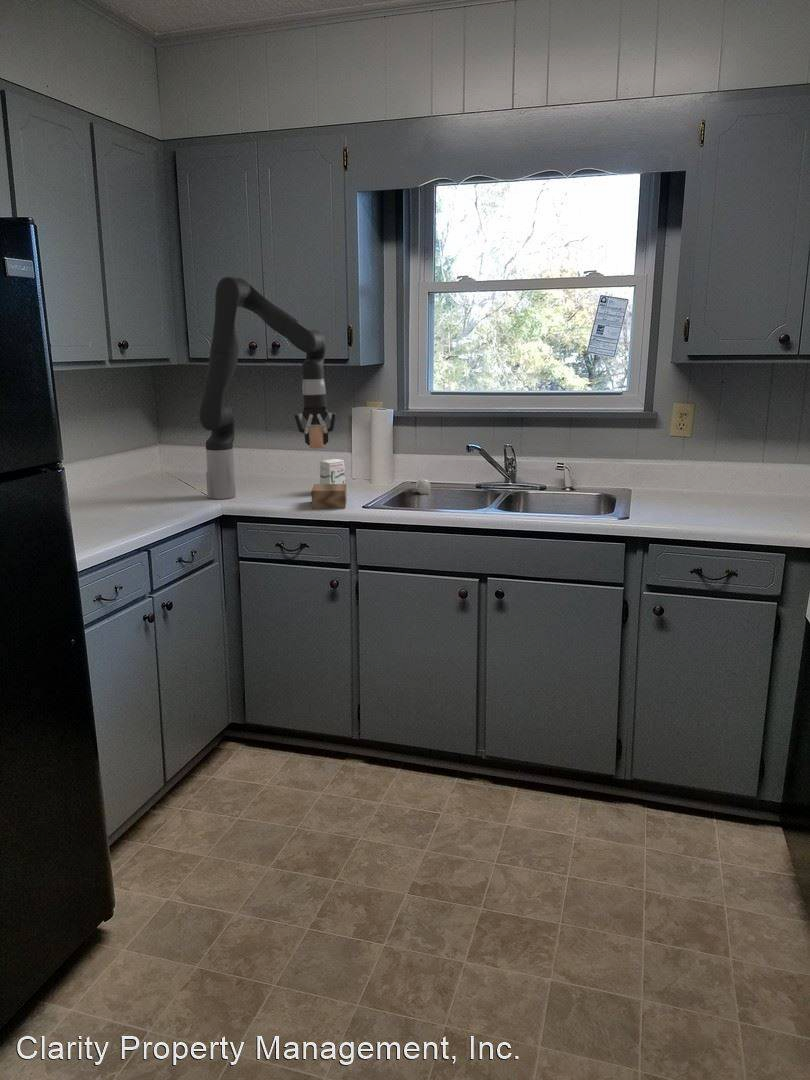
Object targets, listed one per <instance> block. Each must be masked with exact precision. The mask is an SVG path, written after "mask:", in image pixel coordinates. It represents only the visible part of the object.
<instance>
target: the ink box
mask: <svg viewBox="0 0 810 1080" xmlns="http://www.w3.org/2000/svg"><path fill="white" fill-rule="evenodd" d="M345 470H346V469H345V460H344V459H341V458H330V459H325V460H321V461H319V476H320V477H319V484H346V482H345V476H346V474H345V472H346V471H345Z"/></svg>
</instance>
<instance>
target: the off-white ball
mask: <svg viewBox="0 0 810 1080" xmlns="http://www.w3.org/2000/svg"><path fill="white" fill-rule="evenodd" d="M431 490H432V486H431V483H430V481H429V480H428V479H427V478H419V479H417V481H416V491H417V492H418V493H419V494H421V495H427V494H429V493H430V492H431Z"/></svg>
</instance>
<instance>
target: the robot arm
mask: <svg viewBox="0 0 810 1080" xmlns="http://www.w3.org/2000/svg"><path fill="white" fill-rule="evenodd" d="M215 288H216V290H215V301H214V302H215V305H214V306H215V307H214V323H213V329H212V338H211V339H212V340H211V345H210V349H209V350H210V352H209V360H208V366H207V367H208V368H207V374H206V380H205V386H204V392H203V396H202V399H201V404H200V407H199V416H198V417H199V422H200V424H201V426H202V427H203V429H204V430H206V431H211V433H210V436H209V437H208V438H207V439H206V441H205V454H206V469H207V470H206V472H205V476H206V478H205V480H206V489H207V490H206V493H207V499H213V500H214V499H215V500H225V499H226V500H227V499H232V498H235V497H236V482H235V479H236V478H235V466H234V465H235V463H234V449H233V445H234V441H235V415H234V411H233V409H232V406H231V405H230V404H228V403H227V402H224V396H225V392H226V389H227V387H228V385H229V383H230V382H231V379H232V378H233V376H234V373H235V371H236V370H237V366H238V360H239V359H238V358H239V354H240V353H239V351H240V347H239V341H238V334H237V332H236V317H237V316H236V315H237V309H238V307H241V308H243V309H246V310H248V311H251V312H252V313H254V314H256V316H258V317H259V318H260V319H261V320H262V321H263V322H264V323H265V324H266V325H267V326H268V327H269V328H270V329H272V330H273V331H274V332H276V333H277V334H278V335H281V336H282V337H284V338H286V339H287V340H288V341H289V342H290V343H291V344H292V345H293V346H294V347H295V348H296V349H298V350H299V351H301V352H303V353H306V356H305V360H304V361H303V363H302V365H301V373H302V374H301V375H302V376H301V377H302V385H301V387H302V401H303V402H302V405H303V406H302V407H303V410H302V412H300V413H295V414H294V419H295V422H296V426H297V429H298V432H299V433H302V434H304V442H305V444H307V445H306V446H309V428H310V426H312V425H315V424H316V425H320V426H322V428H323V431H324V446H325V445H327V444H328V443H329V433H330V432H333V431H334V427H335V421H336V417H337V414H336V412H329V410H328V409H327V395H326V394H327V393H326V392H327V389H326V383H325V382H326V381H325V371H324V363H325V358H326V357H325V356H326V350H327V349H326V348H327V345H326V342H327V341H326V339H325V336H324V334H323V333H322V332H321V331H319V330H312V329H311V330H310V329H307V328H306V327H305V326H303V325H302V323H301V322H300V321H299V320H298V319H297V318H296V317H294V316H293V315H291V314H289V313H288V312H286V311H285V310H283V309H282V308H280V307H278V306H277V305H275V304H274V303H272V301H270V300H268V299H267V298H266V297H265V296H263V295H262V294H261V293H260V292H259V291H258V290H257V289H255V287H253V286H252V285H251V284H250V283H249V282H248V281H247V280H245V279H243V278H240V277H234V276H225V277H222V278H221V279H220V280H219V281H218V283H217V285H216V287H215ZM327 417H328V418H329V419H330V424H329V427H327V424H326V422H325V420H326V418H327ZM303 418H304V419H305V420H306V421H307V422H306V425H305V428H303V424H302V419H303Z"/></svg>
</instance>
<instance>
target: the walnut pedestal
mask: <svg viewBox="0 0 810 1080" xmlns="http://www.w3.org/2000/svg"><path fill="white" fill-rule="evenodd" d="M310 493H311V510H317V509H318V508H319V509H321V508H339V509H346V506H347V505H346V504H347V499H348V498H347V483H345V484H320V483H318V484H317V483H316V484H315V483H314V484H313V486H312V489H311V492H310Z"/></svg>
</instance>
